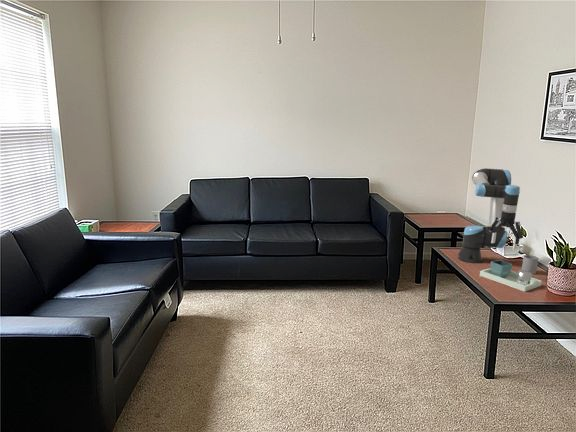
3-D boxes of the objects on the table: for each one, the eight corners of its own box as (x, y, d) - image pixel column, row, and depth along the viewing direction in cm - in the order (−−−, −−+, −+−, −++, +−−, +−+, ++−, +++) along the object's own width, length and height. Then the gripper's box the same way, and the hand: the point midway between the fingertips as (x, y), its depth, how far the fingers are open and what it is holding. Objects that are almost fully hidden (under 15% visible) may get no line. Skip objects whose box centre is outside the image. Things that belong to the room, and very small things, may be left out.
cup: (537, 274, 277) (540, 259, 275) (523, 273, 279) (526, 258, 277) (533, 270, 285) (536, 255, 283) (519, 269, 287) (522, 254, 285)
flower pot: (488, 275, 270) (490, 261, 268) (498, 273, 274) (500, 259, 272) (500, 280, 263) (502, 266, 261) (510, 278, 266) (512, 264, 264)
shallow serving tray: (479, 276, 270) (480, 270, 269) (496, 272, 279) (497, 266, 278) (524, 293, 247) (525, 286, 246) (540, 287, 257) (542, 280, 256)
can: (513, 284, 257) (515, 271, 256) (520, 281, 261) (522, 269, 259) (525, 288, 252) (527, 275, 250) (531, 285, 256) (534, 273, 254)
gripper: (485, 207, 267) (481, 241, 272) (526, 216, 247) (520, 252, 252) (493, 206, 271) (488, 239, 276) (533, 215, 251) (527, 250, 256)
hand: (503, 245), depth 264 cm, fingers open, 13 cm apart
